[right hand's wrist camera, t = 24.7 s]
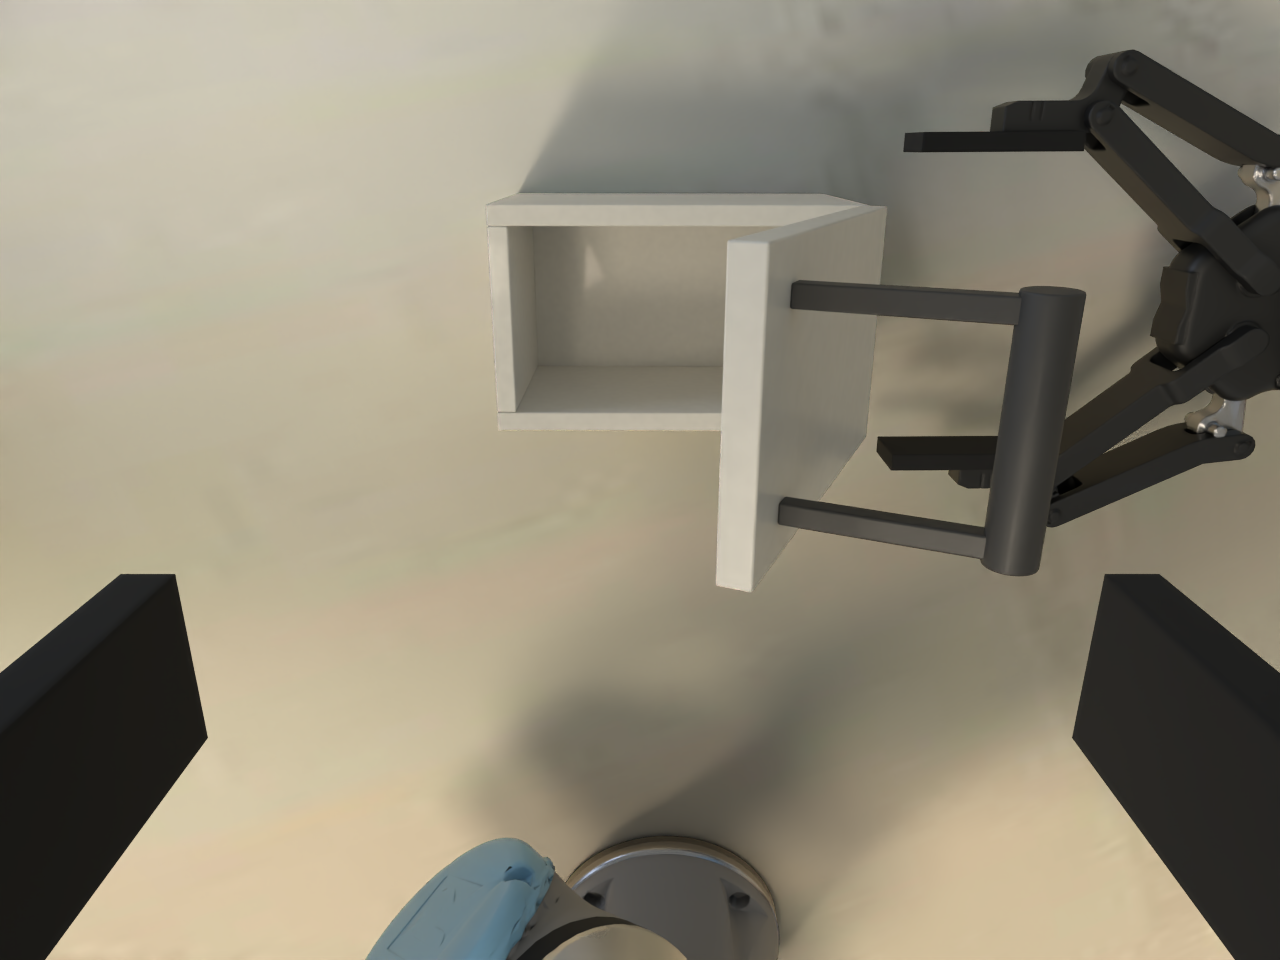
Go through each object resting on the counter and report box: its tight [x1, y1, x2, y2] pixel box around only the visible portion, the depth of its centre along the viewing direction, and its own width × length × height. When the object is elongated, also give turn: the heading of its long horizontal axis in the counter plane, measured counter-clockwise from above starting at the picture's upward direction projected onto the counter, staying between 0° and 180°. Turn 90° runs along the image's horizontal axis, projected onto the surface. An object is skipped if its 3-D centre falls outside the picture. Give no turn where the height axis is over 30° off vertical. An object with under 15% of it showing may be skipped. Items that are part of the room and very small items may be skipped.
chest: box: [486, 193, 869, 431], centre depth 42 cm, size 15×10×10 cm, turn 90°
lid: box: [716, 206, 1086, 592], centre depth 29 cm, size 16×10×8 cm
